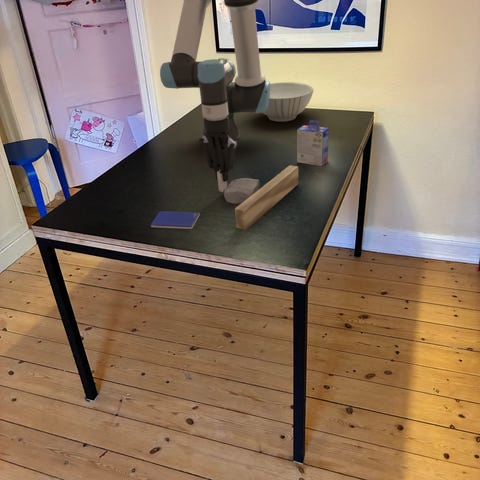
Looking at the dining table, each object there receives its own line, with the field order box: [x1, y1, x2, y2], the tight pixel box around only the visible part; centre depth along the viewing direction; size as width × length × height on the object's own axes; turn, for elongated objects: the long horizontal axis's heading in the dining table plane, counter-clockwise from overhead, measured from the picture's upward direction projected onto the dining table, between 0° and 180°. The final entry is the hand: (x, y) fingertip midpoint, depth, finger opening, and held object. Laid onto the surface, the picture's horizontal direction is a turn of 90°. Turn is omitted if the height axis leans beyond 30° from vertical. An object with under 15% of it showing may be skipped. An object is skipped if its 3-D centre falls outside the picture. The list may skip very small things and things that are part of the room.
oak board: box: [234, 164, 299, 231], centre depth 142 cm, size 3×32×6 cm, turn 147°
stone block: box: [223, 177, 260, 205], centre depth 150 cm, size 12×5×10 cm
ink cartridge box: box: [296, 119, 330, 167], centre depth 165 cm, size 10×6×14 cm, turn 58°
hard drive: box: [150, 210, 201, 230], centre depth 140 cm, size 2×8×12 cm
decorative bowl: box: [262, 81, 314, 122], centre depth 210 cm, size 27×27×12 cm
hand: (223, 189), depth 151 cm, fingers closed
